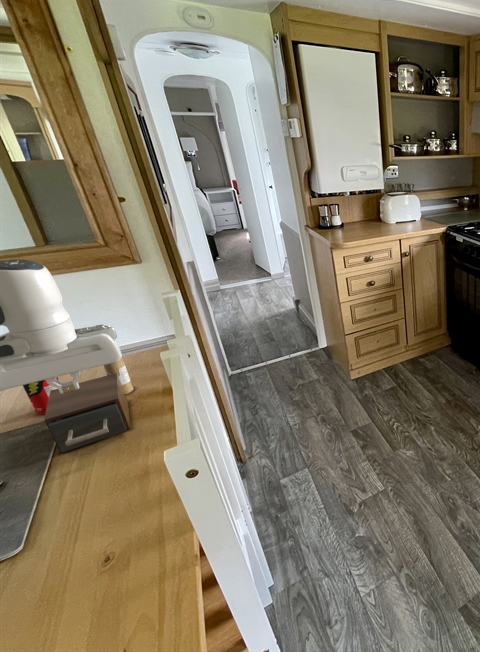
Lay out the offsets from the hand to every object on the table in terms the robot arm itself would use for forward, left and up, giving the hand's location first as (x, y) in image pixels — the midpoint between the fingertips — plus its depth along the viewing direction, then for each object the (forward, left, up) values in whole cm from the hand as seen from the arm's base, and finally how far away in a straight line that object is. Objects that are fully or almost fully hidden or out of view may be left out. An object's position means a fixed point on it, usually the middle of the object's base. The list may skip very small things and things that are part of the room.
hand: (70, 390), depth 84 cm
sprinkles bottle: (-14, +22, -17) cm, 31 cm away
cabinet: (-8, +8, -17) cm, 20 cm away
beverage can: (-26, +13, -17) cm, 34 cm away
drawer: (-4, +4, -16) cm, 17 cm away
